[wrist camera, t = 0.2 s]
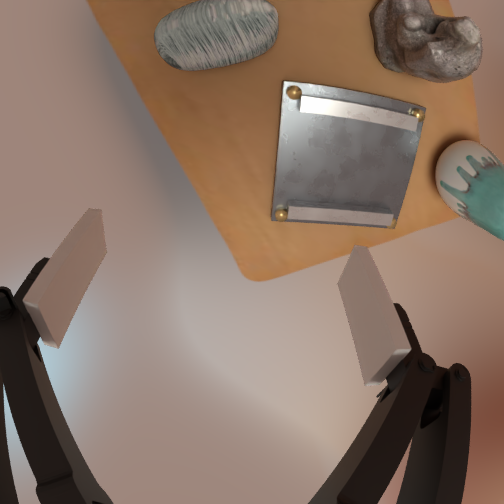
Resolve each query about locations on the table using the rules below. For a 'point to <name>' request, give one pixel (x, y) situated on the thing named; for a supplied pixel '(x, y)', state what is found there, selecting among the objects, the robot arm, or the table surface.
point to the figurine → (425, 41)
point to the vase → (473, 184)
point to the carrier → (343, 156)
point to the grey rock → (216, 33)
